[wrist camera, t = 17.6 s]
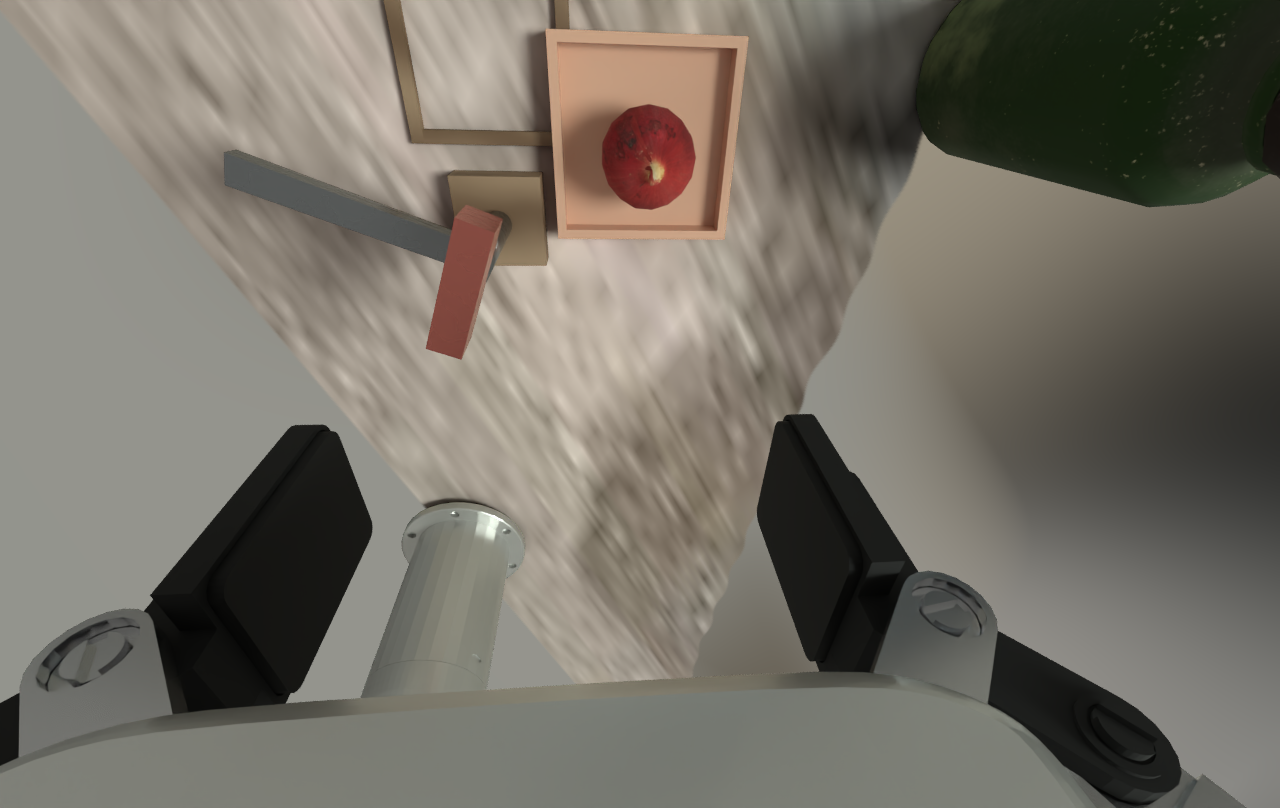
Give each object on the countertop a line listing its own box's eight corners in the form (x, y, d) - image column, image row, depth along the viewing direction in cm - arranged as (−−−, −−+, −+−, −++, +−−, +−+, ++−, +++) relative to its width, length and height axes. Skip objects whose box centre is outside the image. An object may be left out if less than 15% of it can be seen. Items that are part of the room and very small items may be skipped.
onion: (583, 140, 34) (580, 160, 27) (652, 79, 32) (667, 84, 26) (635, 212, 37) (644, 245, 30) (701, 158, 35) (726, 181, 29)
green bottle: (883, 77, 34) (1340, 102, 13) (1033, -78, 30) (2014, -387, 9) (956, 187, 38) (1384, 336, 18) (1095, 65, 34) (1853, 71, 14)
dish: (718, 231, 39) (724, 239, 37) (560, 230, 38) (558, 238, 36) (740, 37, 32) (748, 36, 30) (548, 30, 31) (545, 28, 29)
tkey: (525, 179, 33) (494, 232, 23) (498, 274, 37) (461, 359, 26) (302, 86, 30) (144, 99, 19) (295, 202, 33) (158, 267, 23)
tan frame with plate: (578, 257, 39) (578, 265, 37) (437, 256, 38) (430, 265, 36) (565, -63, 29) (564, -71, 27) (371, -73, 28) (357, -82, 26)
